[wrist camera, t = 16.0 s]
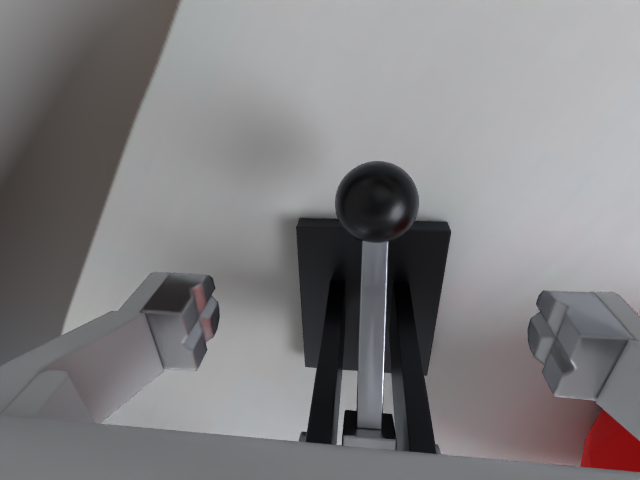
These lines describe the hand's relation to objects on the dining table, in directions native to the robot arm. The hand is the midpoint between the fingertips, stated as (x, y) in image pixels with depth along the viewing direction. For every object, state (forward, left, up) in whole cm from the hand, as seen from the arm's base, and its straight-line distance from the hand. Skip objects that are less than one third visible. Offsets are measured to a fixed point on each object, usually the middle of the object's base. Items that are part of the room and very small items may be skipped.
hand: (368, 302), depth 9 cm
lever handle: (0, -6, -6) cm, 9 cm away
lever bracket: (0, -10, -13) cm, 16 cm away
